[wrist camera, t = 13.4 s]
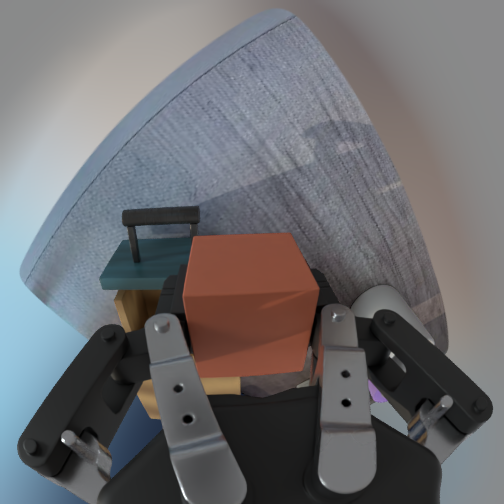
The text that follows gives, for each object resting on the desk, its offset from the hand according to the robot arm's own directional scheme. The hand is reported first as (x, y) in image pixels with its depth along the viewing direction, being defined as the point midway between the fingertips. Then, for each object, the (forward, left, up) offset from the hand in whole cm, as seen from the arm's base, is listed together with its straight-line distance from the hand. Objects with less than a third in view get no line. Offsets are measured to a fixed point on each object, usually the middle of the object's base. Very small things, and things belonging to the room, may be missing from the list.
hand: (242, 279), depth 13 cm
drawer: (+4, -10, -15) cm, 18 cm away
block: (0, 0, 0) cm, 0 cm away
